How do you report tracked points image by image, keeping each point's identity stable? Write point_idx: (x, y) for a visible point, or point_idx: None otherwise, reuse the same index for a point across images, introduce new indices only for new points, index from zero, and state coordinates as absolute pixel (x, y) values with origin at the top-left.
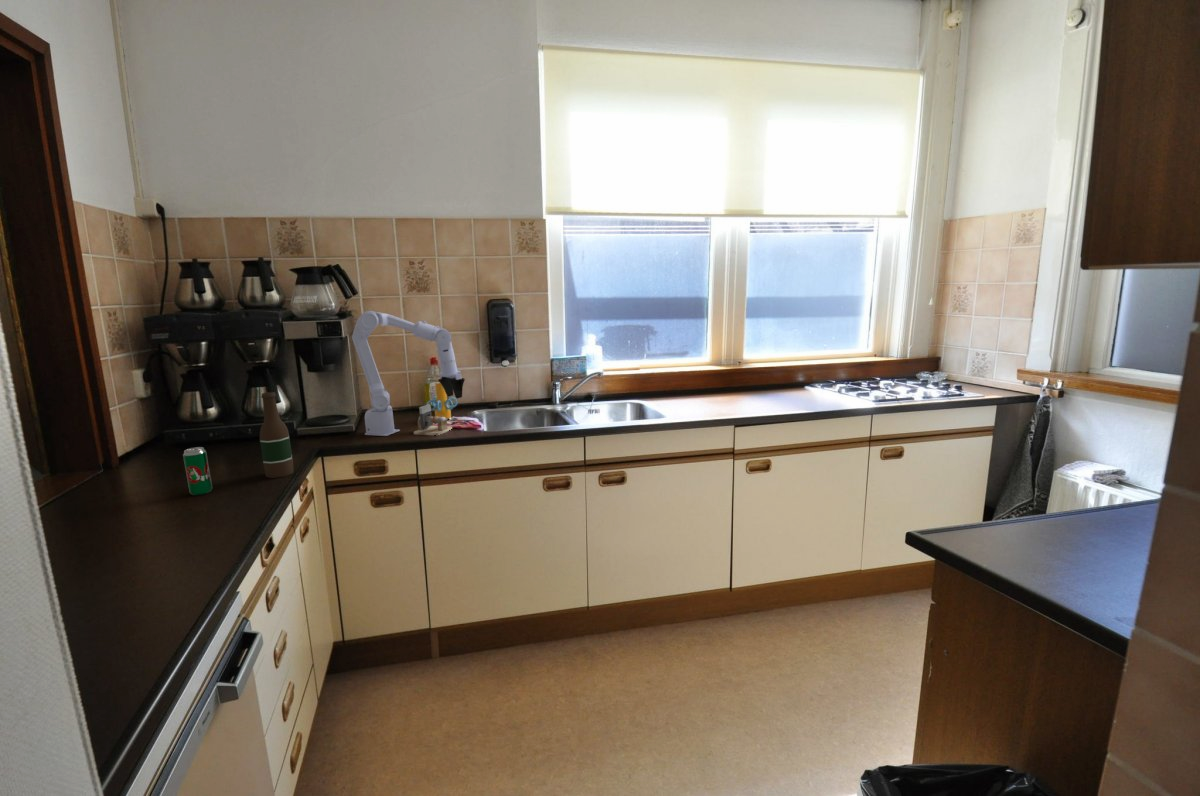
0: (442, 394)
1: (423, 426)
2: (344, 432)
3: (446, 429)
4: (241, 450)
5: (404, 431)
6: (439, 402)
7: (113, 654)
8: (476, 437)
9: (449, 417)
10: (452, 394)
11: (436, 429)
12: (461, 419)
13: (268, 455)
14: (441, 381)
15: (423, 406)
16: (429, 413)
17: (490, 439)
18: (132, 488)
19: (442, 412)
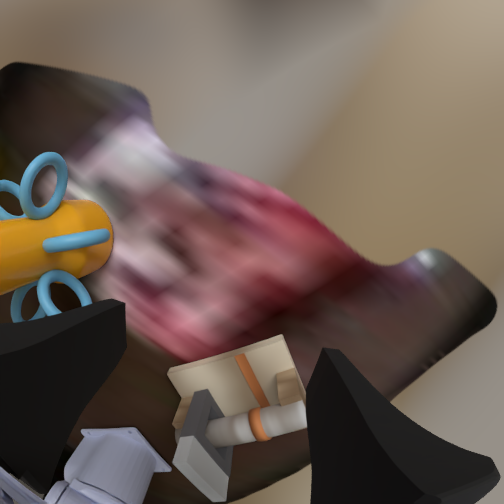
0: (9, 275)
1: None
2: (63, 453)
3: (296, 373)
4: None
5: (149, 424)
6: (48, 294)
7: None
8: (450, 339)
9: (106, 225)
10: (120, 311)
11: (266, 400)
12: (143, 175)
13: None
14: (48, 478)
15: (212, 492)
16: (204, 438)
17: (490, 321)
18: None
19: (85, 267)
